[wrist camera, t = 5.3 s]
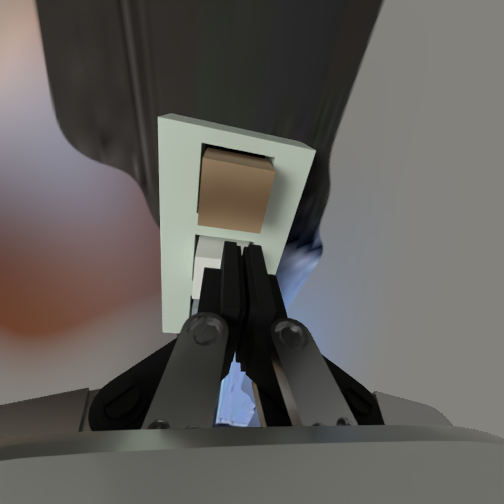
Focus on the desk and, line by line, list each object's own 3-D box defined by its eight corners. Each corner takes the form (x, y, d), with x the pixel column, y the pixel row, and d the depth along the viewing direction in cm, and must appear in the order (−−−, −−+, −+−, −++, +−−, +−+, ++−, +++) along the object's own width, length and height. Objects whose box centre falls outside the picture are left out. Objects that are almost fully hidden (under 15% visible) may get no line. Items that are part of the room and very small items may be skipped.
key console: (171, 113, 20) (157, 116, 16) (301, 141, 22) (316, 150, 18) (170, 305, 32) (162, 332, 29) (251, 311, 35) (254, 337, 31)
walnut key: (207, 147, 18) (202, 157, 15) (267, 159, 19) (275, 171, 16) (202, 205, 21) (197, 225, 17) (255, 213, 22) (260, 233, 18)
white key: (199, 233, 22) (195, 256, 19) (249, 240, 23) (252, 263, 20) (196, 272, 25) (191, 298, 22) (241, 277, 26) (242, 302, 23)
